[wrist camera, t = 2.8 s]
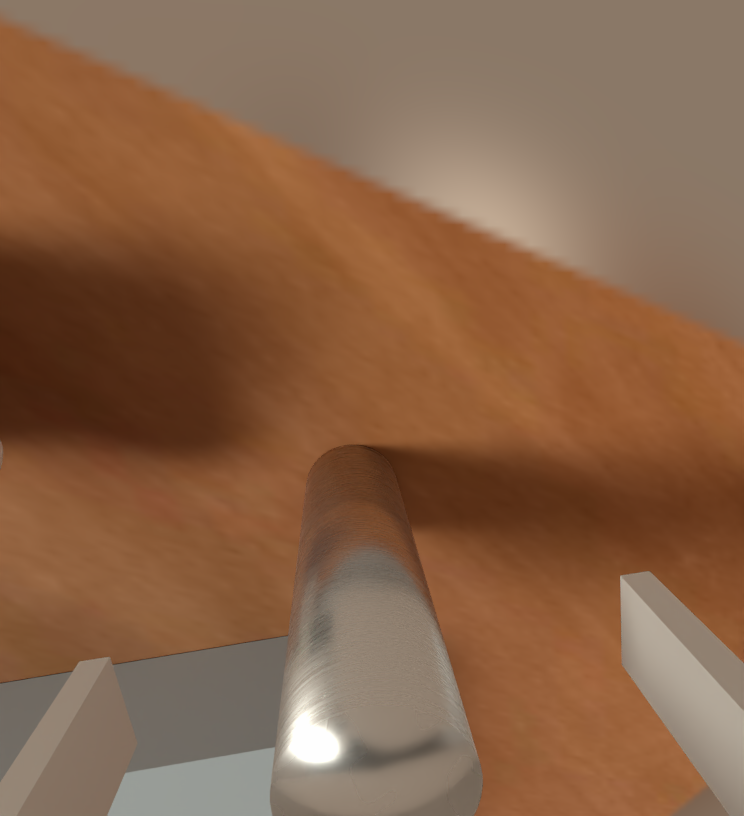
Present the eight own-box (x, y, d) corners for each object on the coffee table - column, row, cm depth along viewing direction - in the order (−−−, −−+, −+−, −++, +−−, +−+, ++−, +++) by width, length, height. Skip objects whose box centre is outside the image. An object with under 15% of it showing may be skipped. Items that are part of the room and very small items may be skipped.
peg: (299, 452, 23) (250, 728, 9) (390, 438, 23) (473, 689, 9) (314, 535, 24) (291, 888, 10) (402, 521, 24) (490, 851, 11)
